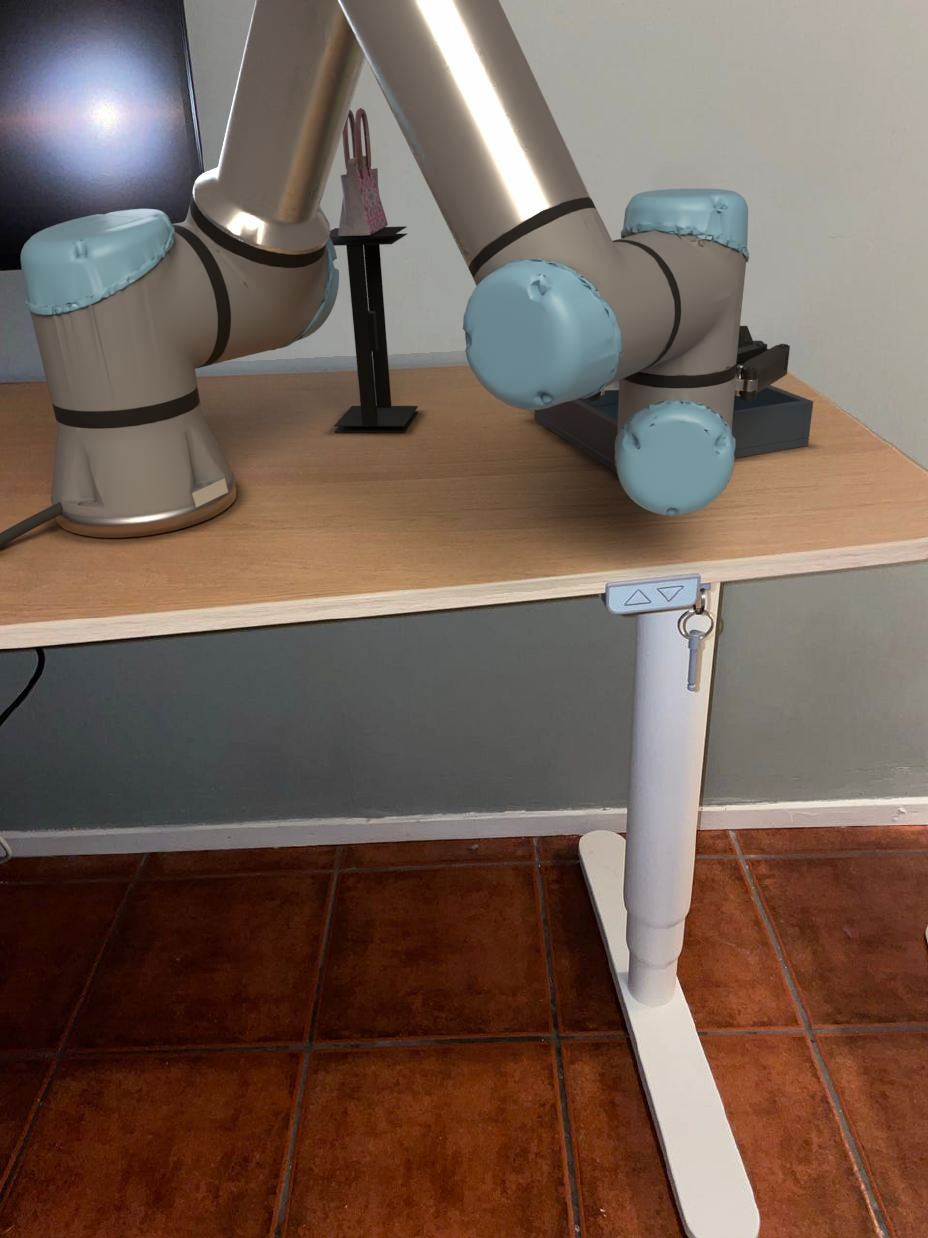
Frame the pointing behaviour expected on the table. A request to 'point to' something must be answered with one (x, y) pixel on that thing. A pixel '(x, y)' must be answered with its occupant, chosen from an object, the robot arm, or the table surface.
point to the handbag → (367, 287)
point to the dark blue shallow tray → (754, 424)
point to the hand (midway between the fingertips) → (667, 340)
